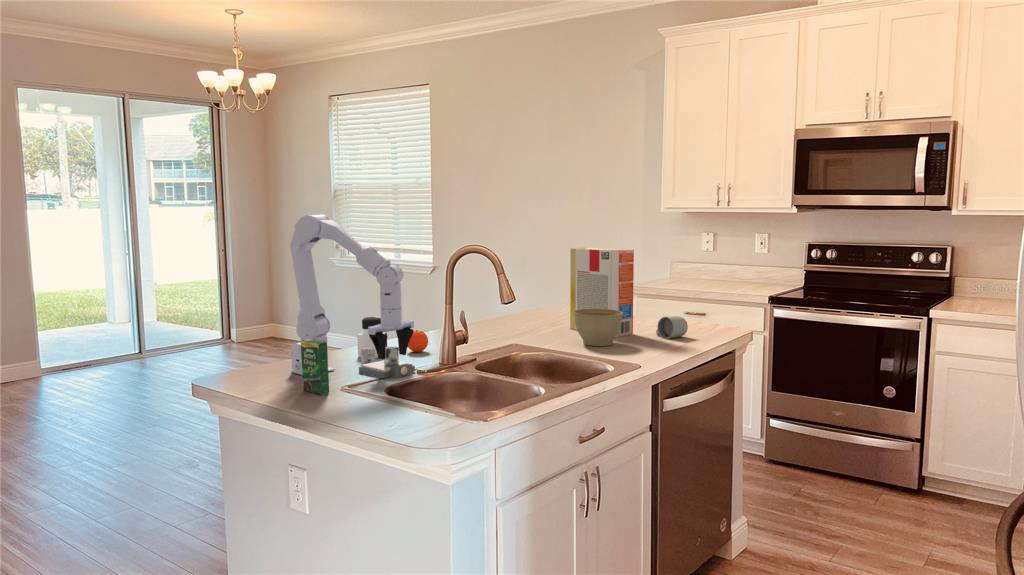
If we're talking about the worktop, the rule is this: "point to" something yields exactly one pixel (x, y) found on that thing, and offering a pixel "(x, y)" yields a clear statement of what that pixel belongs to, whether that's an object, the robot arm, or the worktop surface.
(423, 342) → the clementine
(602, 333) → the planter bowl
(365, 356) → the spacer
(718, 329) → the worktop surface
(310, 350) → the green cardboard box
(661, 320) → the ceramic mug
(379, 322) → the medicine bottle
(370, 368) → the scale
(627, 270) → the cereal box
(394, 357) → the spacer
